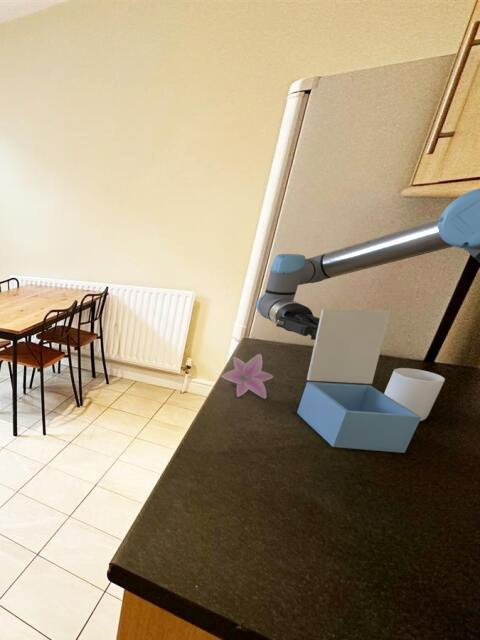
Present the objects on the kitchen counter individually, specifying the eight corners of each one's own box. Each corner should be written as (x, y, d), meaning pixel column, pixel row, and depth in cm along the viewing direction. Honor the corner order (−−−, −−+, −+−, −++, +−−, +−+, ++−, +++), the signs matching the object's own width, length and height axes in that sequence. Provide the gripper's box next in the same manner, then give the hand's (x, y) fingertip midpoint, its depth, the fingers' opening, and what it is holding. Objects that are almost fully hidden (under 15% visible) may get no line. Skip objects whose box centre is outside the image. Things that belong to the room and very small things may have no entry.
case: (404, 452, 84) (421, 417, 81) (332, 446, 87) (346, 412, 83) (357, 417, 98) (370, 385, 94) (296, 412, 101) (307, 381, 97)
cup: (381, 416, 98) (398, 377, 94) (371, 397, 107) (386, 361, 103) (431, 425, 93) (450, 384, 89) (416, 404, 103) (433, 366, 98)
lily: (208, 393, 114) (226, 372, 106) (219, 366, 120) (236, 344, 112) (254, 414, 110) (276, 393, 102) (262, 385, 116) (284, 363, 108)
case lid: (390, 310, 90) (388, 310, 91) (323, 309, 93) (321, 309, 93) (372, 383, 94) (369, 383, 95) (308, 380, 97) (306, 379, 97)
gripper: (313, 329, 118) (364, 357, 97) (261, 327, 121) (301, 354, 100) (321, 303, 115) (376, 326, 94) (268, 302, 118) (310, 324, 97)
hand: (337, 340), depth 97 cm, fingers closed
